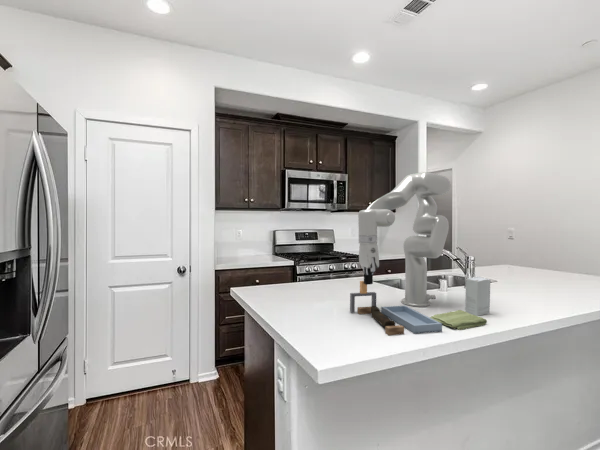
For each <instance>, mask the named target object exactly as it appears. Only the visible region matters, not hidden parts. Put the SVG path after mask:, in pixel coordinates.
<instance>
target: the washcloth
mask: <svg viewBox="0 0 600 450" xmlns="http://www.w3.org/2000/svg"><path fill="white" fill-rule="evenodd" d="M430 318H432V319H434V320H436V321H438V322H440V323H442V326H446V327H450V328H452V329H454V330H456V331H461V330H467V329H471V328H476V326H477V327H481V325H482V326H486V324H487V323H488V321H487V319H486V318H484V317H482V316H476V315H472V314H469V313H468V312H465V310H461V309H457V310H454V311H449V312H443V313H437V314H433V315H432V316H430ZM466 328H467V329H466Z"/></svg>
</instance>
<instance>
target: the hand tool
mask: <svg viewBox="0 0 600 450" xmlns="http://www.w3.org/2000/svg"><path fill="white" fill-rule="evenodd" d="M370 307H371V314H370V315H371V318H372V319H373V320H376V321H377V322H378V323H379V324H380V325H381V326H382V327H383V329H384V330H385V326H396V322H394V321H393V320H391V319H389V318H388V317H386V316H385V315H384V314H382V313H381V308H379V307H377V305H376V306H372V305H371V306H370Z"/></svg>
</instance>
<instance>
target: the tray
mask: <svg viewBox="0 0 600 450" xmlns="http://www.w3.org/2000/svg"><path fill="white" fill-rule="evenodd" d="M380 312H381V313H382V314H384V315H385V316H386V317H388V318H389V319H390V320H392V321H394V322H395V324H398V325H402V326H403V327H404V330H407V331H409V332H410V333H412V334H413V335H417V334H418V335H419V334H427V333H442V332H443V324H442V323H440V322H438V321H436V320H434V319H432V318H430V317H431V316H430V317H429V316H427V315H425V314H423V313H421V312H419V311H417V310H416V309H413V308H411V307H410V306H408V305H406V304H403V305H389V306H381V307H380Z"/></svg>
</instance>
